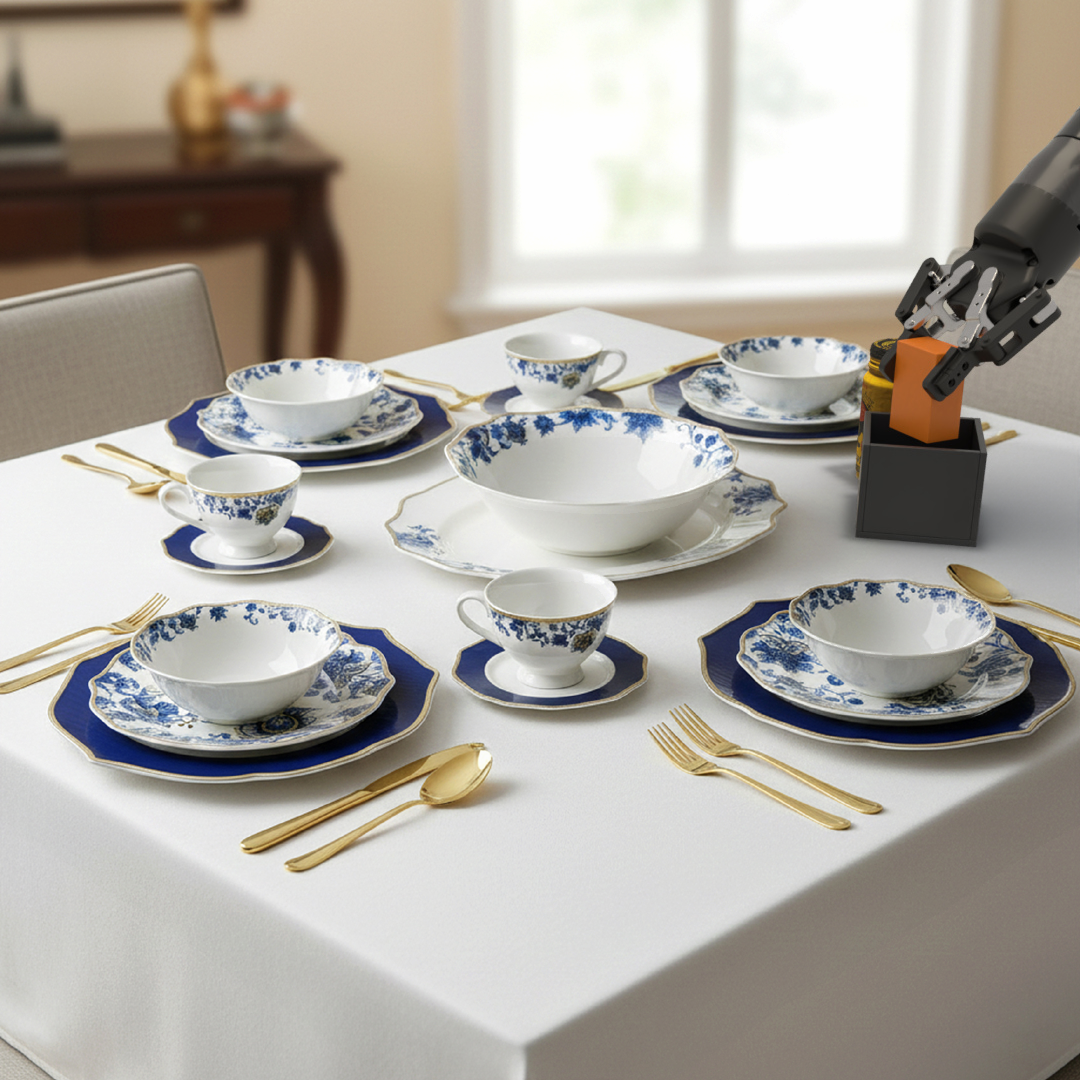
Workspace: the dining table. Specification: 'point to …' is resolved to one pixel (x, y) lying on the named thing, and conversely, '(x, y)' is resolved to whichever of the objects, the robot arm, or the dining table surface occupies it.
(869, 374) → the condiment
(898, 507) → the bin
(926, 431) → the block
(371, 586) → the dining table surface
